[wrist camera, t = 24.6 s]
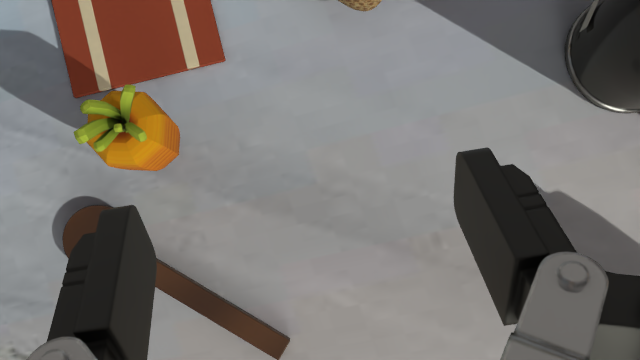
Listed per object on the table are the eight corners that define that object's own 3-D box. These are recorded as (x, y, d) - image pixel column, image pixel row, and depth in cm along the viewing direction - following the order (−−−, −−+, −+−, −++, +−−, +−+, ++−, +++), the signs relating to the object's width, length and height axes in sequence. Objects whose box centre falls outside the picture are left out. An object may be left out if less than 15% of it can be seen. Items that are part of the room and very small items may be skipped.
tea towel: (225, 61, 46) (224, 59, 45) (76, 98, 46) (73, 96, 45) (195, -58, 47) (194, -62, 46) (48, -23, 46) (45, -26, 46)
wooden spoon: (301, 319, 45) (301, 321, 44) (268, 377, 44) (266, 381, 43) (90, 193, 45) (85, 192, 44) (55, 249, 45) (49, 250, 44)
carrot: (187, 109, 46) (127, 53, 31) (208, 168, 45) (158, 142, 30) (126, 130, 45) (36, 85, 30) (147, 190, 45) (66, 174, 30)
